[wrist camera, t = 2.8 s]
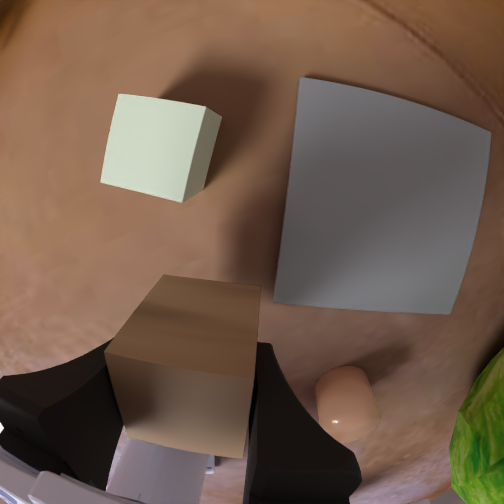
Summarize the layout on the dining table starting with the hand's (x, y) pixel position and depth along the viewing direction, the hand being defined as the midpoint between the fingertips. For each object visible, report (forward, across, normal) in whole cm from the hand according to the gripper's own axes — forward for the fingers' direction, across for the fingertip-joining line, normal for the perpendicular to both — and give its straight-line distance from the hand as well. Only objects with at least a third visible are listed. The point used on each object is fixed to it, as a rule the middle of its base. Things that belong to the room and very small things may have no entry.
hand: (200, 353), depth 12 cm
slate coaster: (+6, -9, -6) cm, 12 cm away
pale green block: (+6, +3, -8) cm, 11 cm away
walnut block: (+2, 0, 0) cm, 2 cm away
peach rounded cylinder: (+6, -9, +7) cm, 13 cm away
